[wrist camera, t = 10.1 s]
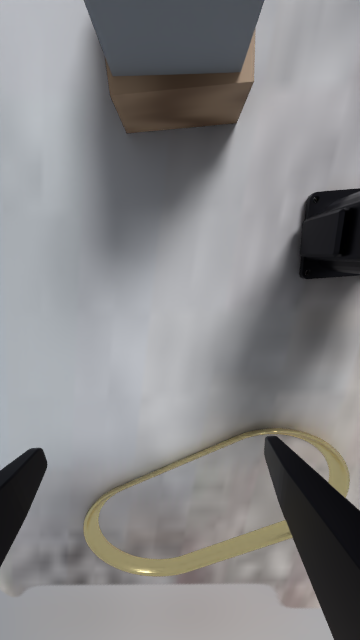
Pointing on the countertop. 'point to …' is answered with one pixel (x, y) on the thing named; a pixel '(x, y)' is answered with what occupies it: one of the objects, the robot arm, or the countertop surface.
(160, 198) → the countertop surface
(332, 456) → the yellow oval loop
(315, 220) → the robot arm
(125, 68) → the tower top
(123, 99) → the tower base
